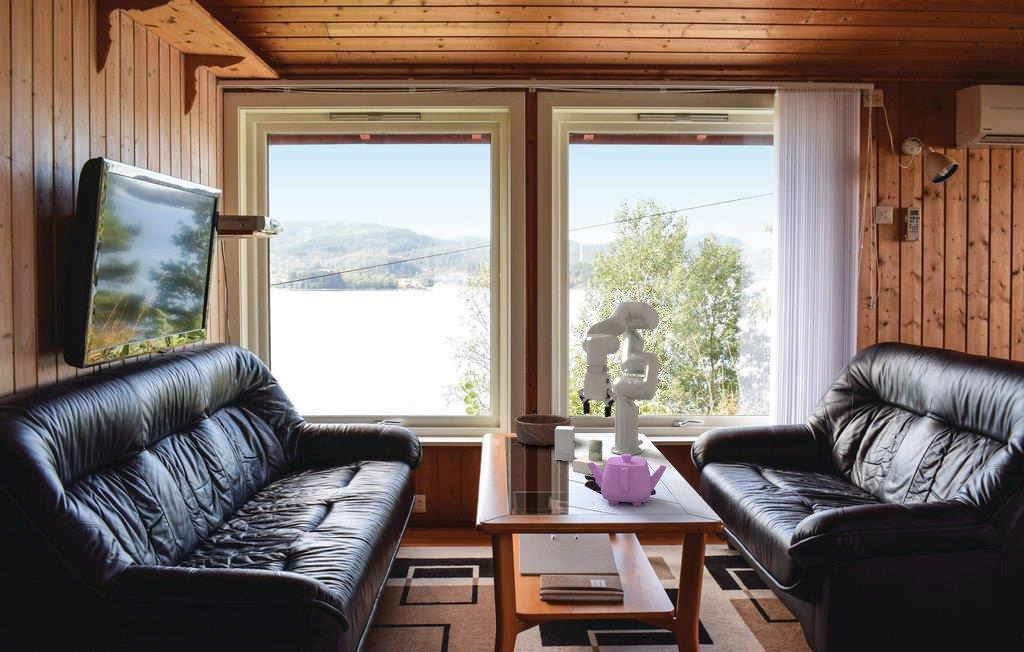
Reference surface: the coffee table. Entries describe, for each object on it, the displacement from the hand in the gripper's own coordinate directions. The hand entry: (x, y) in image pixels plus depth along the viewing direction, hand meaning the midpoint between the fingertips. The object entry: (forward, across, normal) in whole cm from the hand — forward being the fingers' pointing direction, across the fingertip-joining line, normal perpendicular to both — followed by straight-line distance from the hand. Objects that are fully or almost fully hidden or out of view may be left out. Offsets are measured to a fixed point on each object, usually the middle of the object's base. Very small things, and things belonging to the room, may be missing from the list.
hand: (597, 415), depth 278 cm
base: (+21, 0, +1) cm, 21 cm away
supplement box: (+21, +20, -6) cm, 30 cm away
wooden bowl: (+22, +47, -24) cm, 58 cm away
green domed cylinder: (+17, 0, +1) cm, 17 cm away
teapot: (+20, -30, +26) cm, 45 cm away
